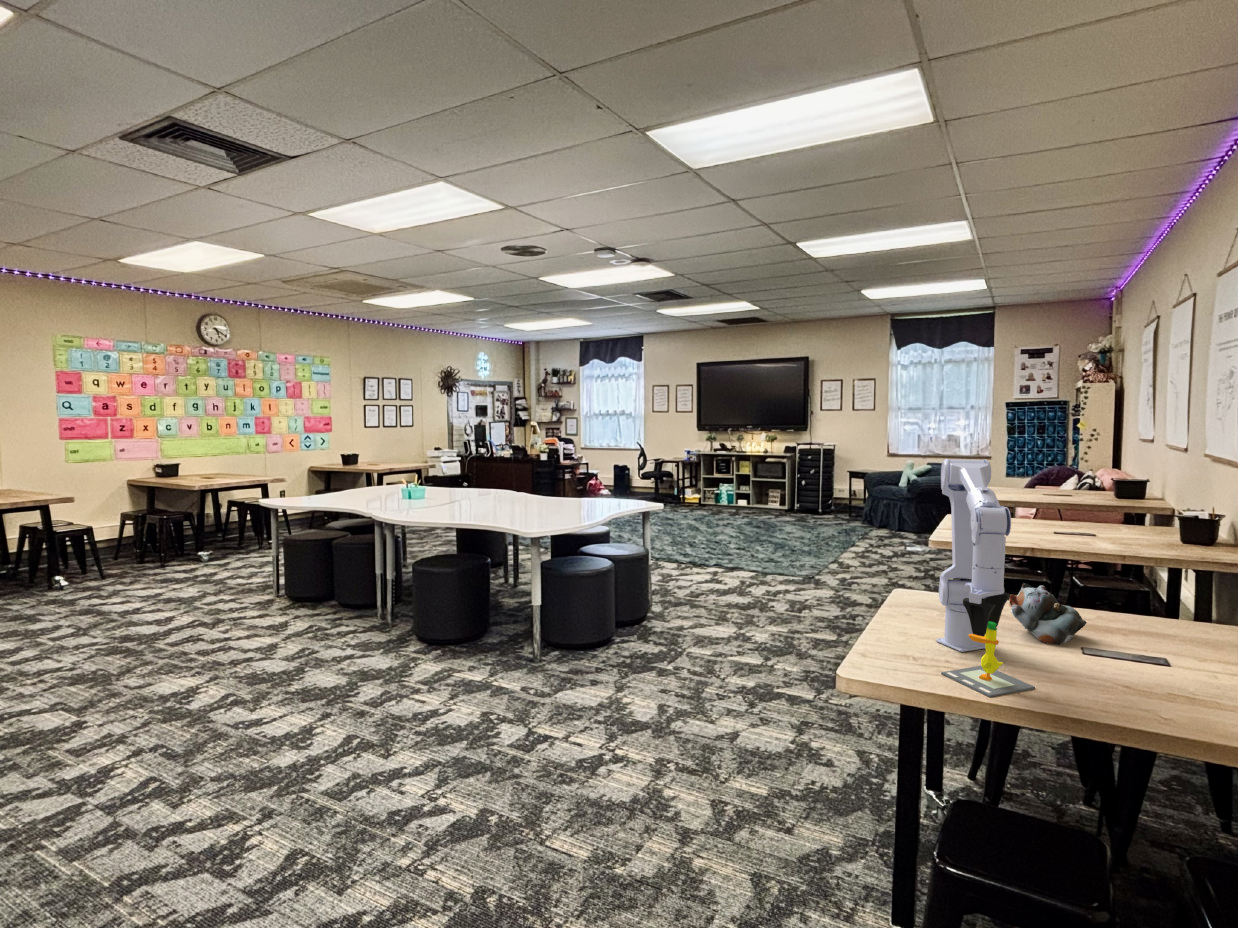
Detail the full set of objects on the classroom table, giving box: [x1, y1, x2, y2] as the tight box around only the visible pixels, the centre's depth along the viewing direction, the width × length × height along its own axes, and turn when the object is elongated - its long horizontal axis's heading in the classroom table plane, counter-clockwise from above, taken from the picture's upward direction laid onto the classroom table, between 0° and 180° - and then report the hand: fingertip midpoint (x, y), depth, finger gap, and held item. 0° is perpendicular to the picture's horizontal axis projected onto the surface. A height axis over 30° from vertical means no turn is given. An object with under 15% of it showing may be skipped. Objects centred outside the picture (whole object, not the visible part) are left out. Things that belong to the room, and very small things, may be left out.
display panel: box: [940, 665, 1036, 698], centre depth 138 cm, size 12×12×1 cm
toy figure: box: [968, 622, 1004, 681], centre depth 137 cm, size 7×4×12 cm, turn 45°
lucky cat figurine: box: [1008, 582, 1088, 646], centre depth 165 cm, size 15×12×14 cm
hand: (985, 630), depth 138 cm, fingers open, 7 cm apart
